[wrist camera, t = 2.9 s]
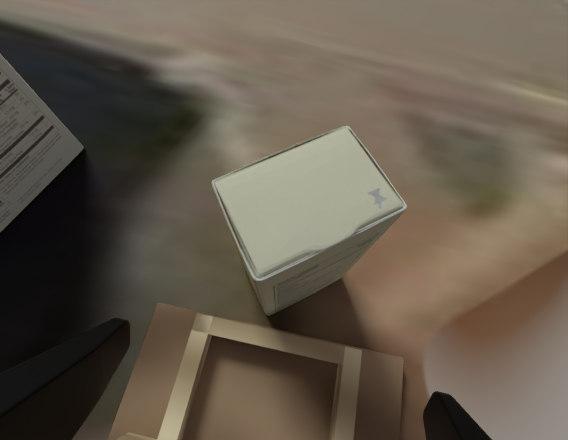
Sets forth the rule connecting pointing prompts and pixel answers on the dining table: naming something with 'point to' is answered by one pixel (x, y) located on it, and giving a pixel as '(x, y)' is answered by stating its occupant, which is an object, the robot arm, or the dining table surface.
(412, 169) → the dining table surface
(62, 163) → the supplement box
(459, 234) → the dining table surface
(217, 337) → the keyhole guide
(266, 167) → the skincare box
